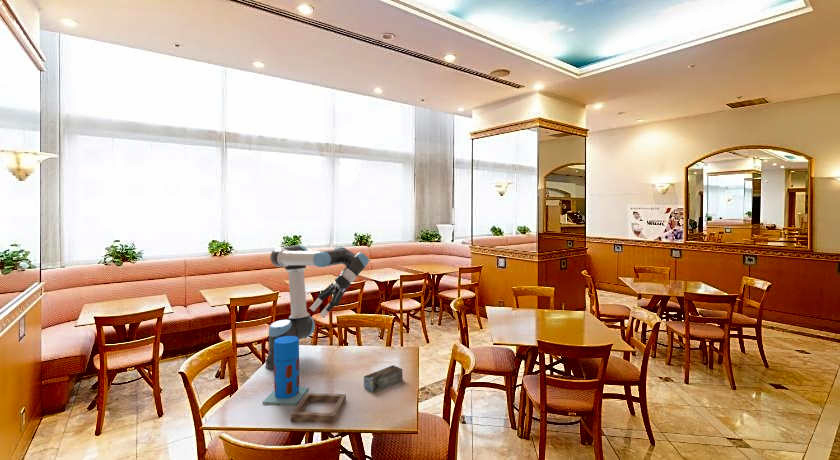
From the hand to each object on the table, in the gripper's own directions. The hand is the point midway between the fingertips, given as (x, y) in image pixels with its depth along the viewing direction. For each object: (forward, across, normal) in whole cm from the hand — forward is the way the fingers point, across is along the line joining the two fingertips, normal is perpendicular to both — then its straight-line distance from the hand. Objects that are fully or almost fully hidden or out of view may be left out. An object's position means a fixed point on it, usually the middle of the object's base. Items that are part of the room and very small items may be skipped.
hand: (316, 313), depth 182 cm
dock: (+30, -23, -20) cm, 43 cm away
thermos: (+35, -2, -14) cm, 38 cm away
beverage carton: (+6, -17, -45) cm, 49 cm away
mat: (+36, -3, -14) cm, 39 cm away
